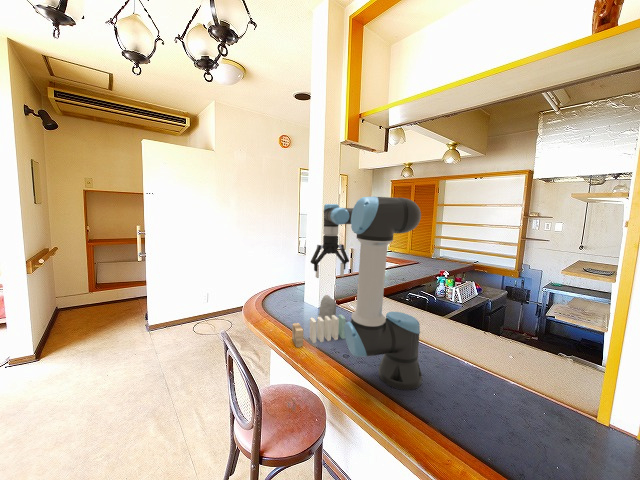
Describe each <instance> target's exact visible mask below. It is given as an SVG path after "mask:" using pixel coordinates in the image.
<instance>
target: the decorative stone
mask: <svg viewBox="0 0 640 480" xmlns="http://www.w3.org/2000/svg"><path fill="white" fill-rule="evenodd" d="M332 315H335V316H336V317H337V302H336V301H335V300H334V299H333V298H332V297H331V296H330V295H329V294H325V295H323V297H322V298H321V300H320V306H319V312H318V317H321V318H322V319H323V320H325V316H328V317H329V318H330V319H331V320H332Z"/></svg>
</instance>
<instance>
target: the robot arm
mask: <svg viewBox="0 0 640 480" xmlns="http://www.w3.org/2000/svg"><path fill="white" fill-rule="evenodd" d="M421 218H422V212H421V209H420V207H419V206H418V204H417V203H416V202H415V201H413V200H411V199H409V198H407V197H406V198H405V197H392V196H391V197H390V196H389V197H388V196H375V195H374V196H363V197H360V198H359V199H358V200H357V201H356V202H355V204H354V206H353V208H352V207H340V206H339V204H338V203H326V204H324V206H323V232H322V233H323V237H322V243H323V244H322V245H321V244H317V245H316V249H315V251H314V253H313V255H312V257H311V259H310V264H312V265H313V272H315V278H316V279H319V278H320V264H319V263H321V261H322V259H323V258H324V257H325V256H326V255H327V254H329V255H331V254H335V255H336V256H337V257H338V259H339V261H340V268H339V270H340V271H339V275H340V276H341V277H345V275H344V273H345V270H346V267H347V266H346V265H347V263H349V262H350V259H349V257H348V255H347V253H346V252H347V251H346V250H345V245H344V244H342V243H340V244H339V225H341V226H342V225H351V226H350V227H351V230H352V233H354V234H356V239H357V241H358V242H359V243H360V249H359V265H358V266H359V267H358V279H357V280H358V281H357V291H356V292H357V296H356V307H355V309H356V310H355V311H353V312H352V313H351V317H350V320H349V321H346V323H345V326H344V332H345V342H346V346H347V348H348V350H349V352H350V354H351V355H352V356H354V357H355V358H363V357H364V358H367V357H371V356H372V357H373V356H379V355H383V356H382V358H381V361H380V363H379V366H378V376H379V378H380V380H381V381H382V382H383V383H385V385H387V386H390V387H392V388H394V389H398V390H403V391H404V390H405V391H408V390H410V391H411V390H414V389H417V388H419V387H420V386H421V385H422V381H423V380H422V377H423V376H422V375H423V374H422V371H421V367H420V363H419V360H418V359H419V347H420V346H419V345H420V334H421V331H420V330H421V329H420V321H419V320H418V319H417V318H416V317H414V316H412V315H410V314H408V313H405V312H401V311H389V312H387V313H386V314H385V315H384V314H383V313H382V312H383V304H384V292H385V290H384V289H385V281H386V279H385V278H386V268H387V255H388V247H389V246H388V245H390V243H392V242H393V241H394V234H406V233H410V232H411V231H413V230H414V229H416V228H417V227H418V226H419V224H420V221H421ZM339 249H340V252H339V251H338V250H339ZM321 250H322V251H321ZM320 252H321V253H320ZM340 253H341V254H342V255H341V254H340Z"/></svg>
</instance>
